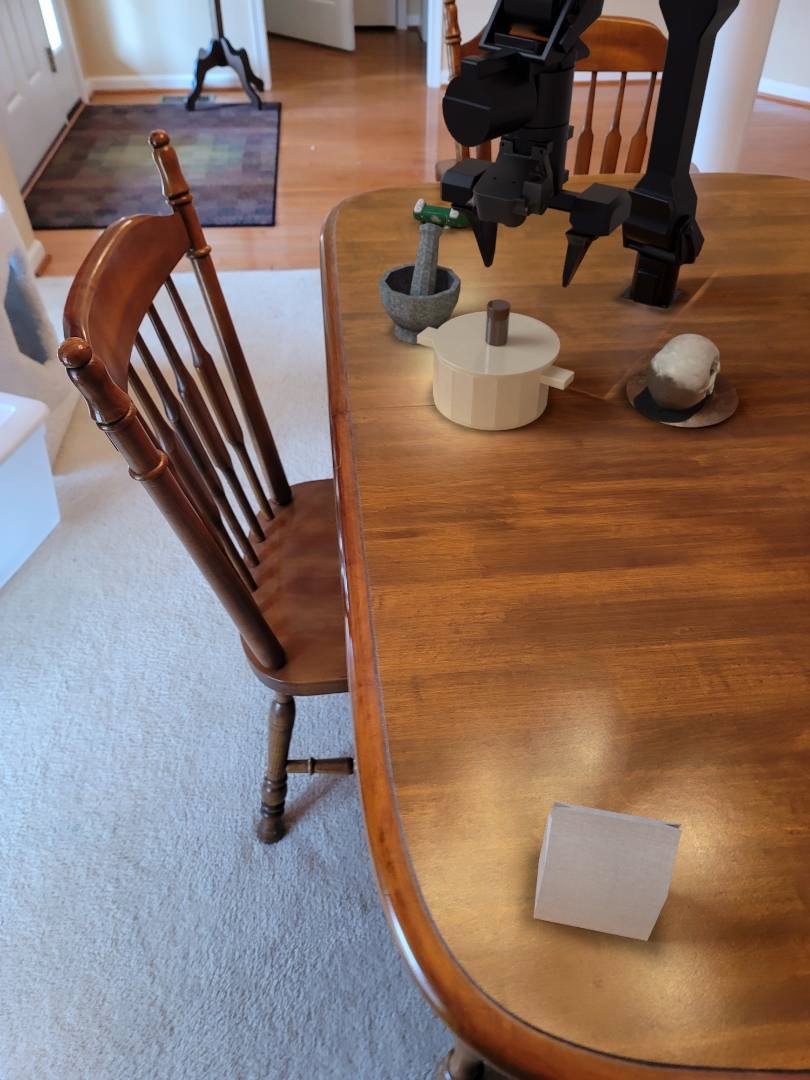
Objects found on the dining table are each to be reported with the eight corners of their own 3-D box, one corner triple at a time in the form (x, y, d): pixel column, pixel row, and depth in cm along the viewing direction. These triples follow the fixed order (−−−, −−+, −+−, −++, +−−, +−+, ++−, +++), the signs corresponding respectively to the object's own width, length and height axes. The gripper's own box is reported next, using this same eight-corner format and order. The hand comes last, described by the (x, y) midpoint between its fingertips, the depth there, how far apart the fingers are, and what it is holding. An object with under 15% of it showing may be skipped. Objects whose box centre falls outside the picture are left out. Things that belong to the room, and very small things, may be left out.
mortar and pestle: (446, 356, 100) (449, 260, 92) (372, 346, 102) (368, 251, 94) (467, 313, 108) (471, 221, 100) (398, 305, 110) (396, 213, 102)
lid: (435, 318, 95) (436, 273, 92) (555, 321, 94) (561, 277, 91) (428, 381, 85) (429, 334, 82) (563, 386, 84) (569, 339, 81)
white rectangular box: (647, 940, 50) (683, 860, 43) (533, 918, 51) (551, 836, 44) (646, 881, 52) (680, 797, 46) (538, 861, 53) (556, 776, 47)
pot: (450, 351, 101) (452, 302, 97) (587, 396, 93) (596, 345, 89) (392, 400, 93) (390, 349, 89) (536, 452, 86) (542, 399, 81)
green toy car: (415, 232, 132) (404, 215, 126) (421, 209, 132) (411, 191, 126) (470, 240, 129) (462, 224, 124) (476, 217, 129) (468, 199, 124)
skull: (655, 346, 99) (726, 304, 91) (699, 421, 100) (773, 386, 91) (599, 383, 93) (669, 342, 84) (646, 462, 93) (720, 429, 85)
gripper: (408, 128, 77) (412, 285, 88) (595, 163, 70) (574, 331, 80) (469, 96, 84) (465, 246, 95) (645, 125, 76) (619, 285, 87)
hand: (526, 275), depth 89 cm, fingers open, 9 cm apart
